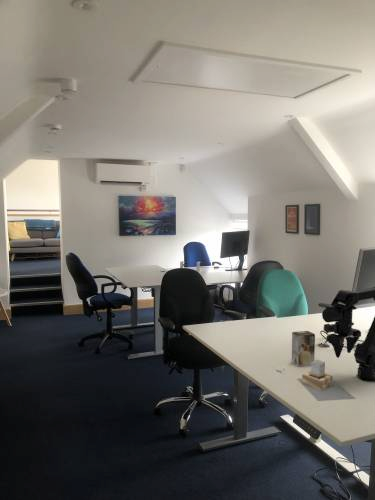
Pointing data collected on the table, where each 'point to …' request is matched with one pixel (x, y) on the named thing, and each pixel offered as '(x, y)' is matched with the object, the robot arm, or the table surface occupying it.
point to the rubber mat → (329, 392)
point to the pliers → (280, 370)
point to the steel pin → (317, 369)
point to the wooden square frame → (317, 381)
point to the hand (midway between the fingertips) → (343, 355)
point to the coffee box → (303, 348)
